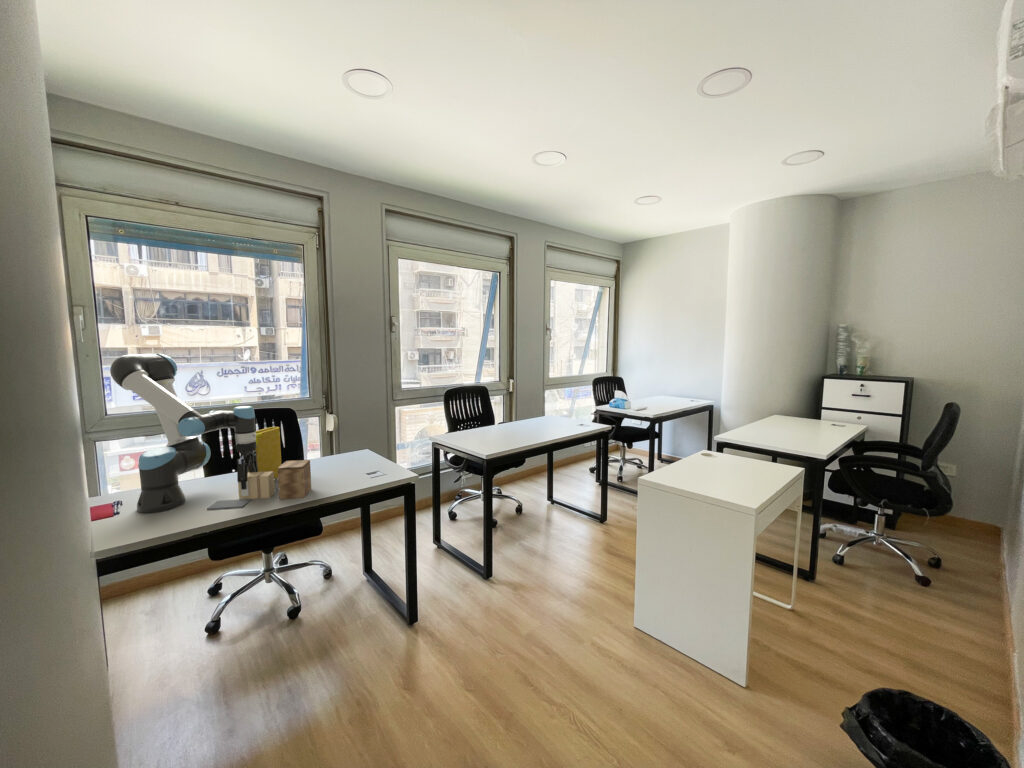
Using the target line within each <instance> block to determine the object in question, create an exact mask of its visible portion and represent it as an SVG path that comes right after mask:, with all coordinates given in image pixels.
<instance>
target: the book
mask: <svg viewBox="0 0 1024 768" xmlns="http://www.w3.org/2000/svg"><path fill="white" fill-rule="evenodd" d="M256 434H257V436H256V440H255V441H256V445H257V449H256V450H254V451H257V465H258V472H264V471H265V472H271V471H274V480H278V467H280V466H281V465H282V450H281V448H282V447H281V431H280V426H270V427H265V428H262V429H257V430H256ZM248 473H249V471H248Z"/></svg>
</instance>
